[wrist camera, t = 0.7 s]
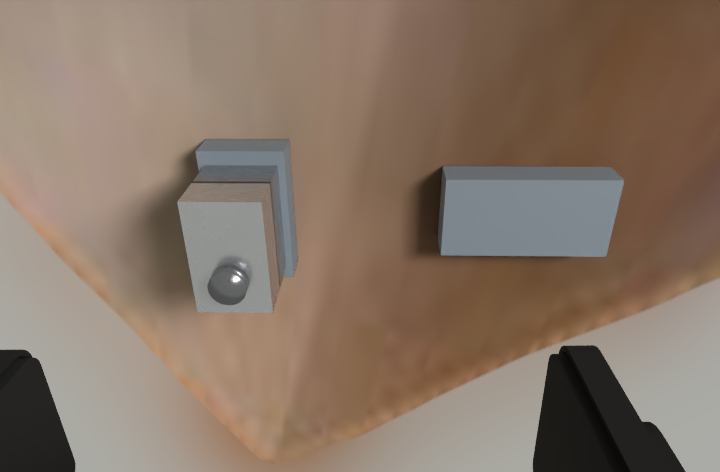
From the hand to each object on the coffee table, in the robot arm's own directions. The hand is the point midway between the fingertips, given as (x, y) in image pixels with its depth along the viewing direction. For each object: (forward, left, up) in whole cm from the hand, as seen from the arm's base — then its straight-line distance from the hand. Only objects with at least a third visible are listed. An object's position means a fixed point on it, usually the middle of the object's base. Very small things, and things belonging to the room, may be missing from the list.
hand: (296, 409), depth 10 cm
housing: (+10, -8, -28) cm, 30 cm away
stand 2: (+10, +12, -30) cm, 34 cm away
